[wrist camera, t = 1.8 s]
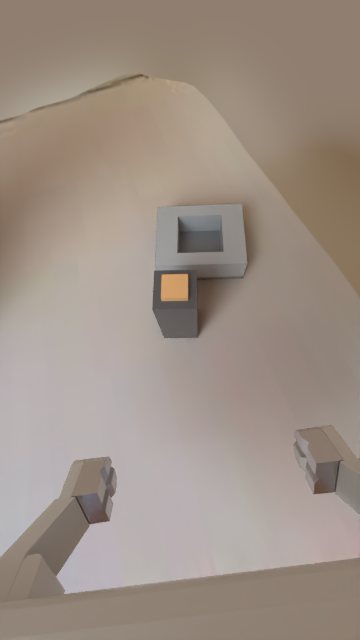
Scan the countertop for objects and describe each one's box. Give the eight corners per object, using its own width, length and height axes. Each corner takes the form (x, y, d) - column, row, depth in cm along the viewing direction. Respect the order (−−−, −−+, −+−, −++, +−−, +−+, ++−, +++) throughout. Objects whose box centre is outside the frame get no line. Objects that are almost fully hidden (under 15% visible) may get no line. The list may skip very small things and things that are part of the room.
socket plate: (158, 280, 34) (154, 265, 31) (161, 225, 37) (157, 207, 34) (242, 278, 34) (247, 263, 30) (237, 222, 37) (241, 203, 34)
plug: (164, 337, 32) (151, 306, 23) (165, 307, 33) (153, 267, 24) (197, 337, 31) (197, 306, 22) (197, 307, 33) (196, 266, 24)
